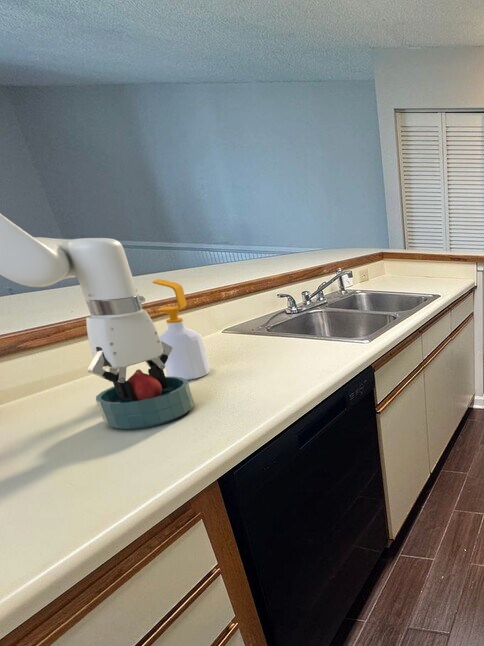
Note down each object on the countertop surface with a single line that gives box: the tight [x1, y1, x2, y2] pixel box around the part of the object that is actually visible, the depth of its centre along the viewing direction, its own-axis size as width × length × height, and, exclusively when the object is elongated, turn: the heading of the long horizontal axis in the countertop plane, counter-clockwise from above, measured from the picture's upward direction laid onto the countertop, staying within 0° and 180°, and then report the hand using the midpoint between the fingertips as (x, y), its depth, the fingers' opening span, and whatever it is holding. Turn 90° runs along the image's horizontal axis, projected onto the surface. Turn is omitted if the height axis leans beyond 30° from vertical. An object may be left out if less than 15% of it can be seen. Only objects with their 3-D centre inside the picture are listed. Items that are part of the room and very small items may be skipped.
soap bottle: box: [152, 278, 211, 381], centre depth 106 cm, size 9×9×25 cm
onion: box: [126, 368, 162, 401], centre depth 87 cm, size 6×6×8 cm
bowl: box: [95, 376, 195, 430], centre depth 88 cm, size 15×15×6 cm
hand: (144, 392), depth 87 cm, fingers closed on onion, 5 cm apart
